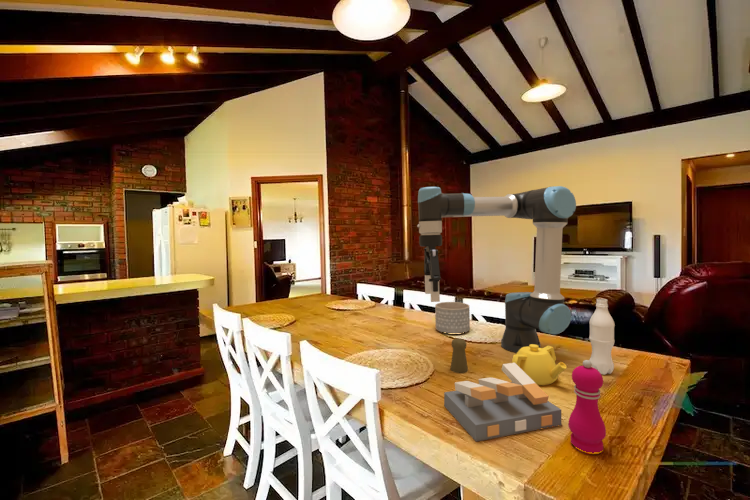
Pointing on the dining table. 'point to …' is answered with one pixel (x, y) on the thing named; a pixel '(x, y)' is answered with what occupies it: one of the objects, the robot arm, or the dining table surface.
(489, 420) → the switch box
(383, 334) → the dining table surface
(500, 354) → the dining table surface
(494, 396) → the rocker
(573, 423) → the pepper mill
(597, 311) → the water bottle
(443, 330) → the planter
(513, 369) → the rocker
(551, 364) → the teapot
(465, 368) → the olive brown shaker
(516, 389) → the rocker
